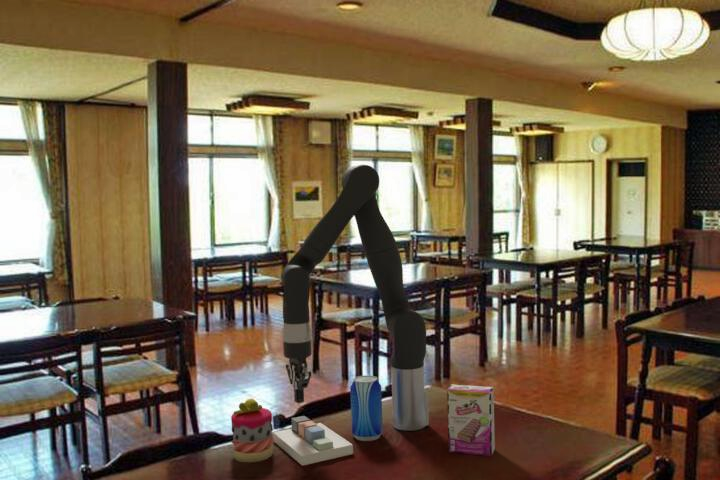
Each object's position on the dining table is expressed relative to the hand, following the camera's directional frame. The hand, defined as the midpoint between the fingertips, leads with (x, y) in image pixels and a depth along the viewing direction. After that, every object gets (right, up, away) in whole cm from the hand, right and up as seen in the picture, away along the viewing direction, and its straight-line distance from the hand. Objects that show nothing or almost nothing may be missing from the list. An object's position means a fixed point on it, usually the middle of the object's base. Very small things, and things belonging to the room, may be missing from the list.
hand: (299, 401), depth 184 cm
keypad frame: (+4, -11, -6) cm, 13 cm away
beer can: (+19, -10, +1) cm, 21 cm away
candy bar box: (+45, -10, -13) cm, 47 cm away
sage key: (+7, -11, -12) cm, 18 cm away
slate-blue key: (+5, -9, -8) cm, 13 cm away
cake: (-11, -12, -9) cm, 18 cm away
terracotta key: (+3, -9, -4) cm, 10 cm away
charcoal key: (0, -9, +1) cm, 9 cm away
